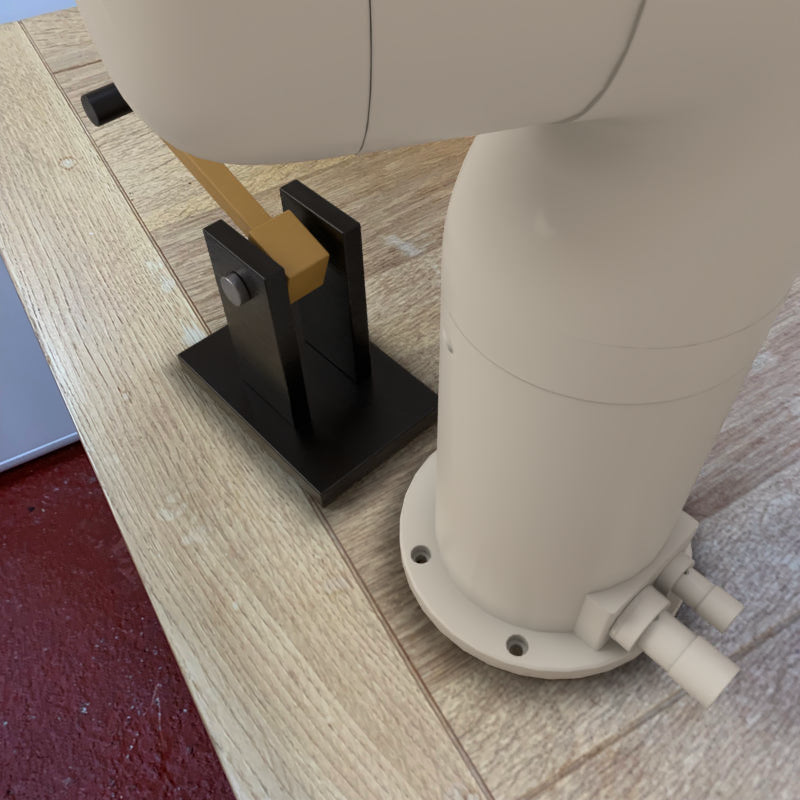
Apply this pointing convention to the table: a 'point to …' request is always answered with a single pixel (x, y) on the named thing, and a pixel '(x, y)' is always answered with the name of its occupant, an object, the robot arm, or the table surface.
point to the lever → (236, 205)
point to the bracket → (306, 357)
